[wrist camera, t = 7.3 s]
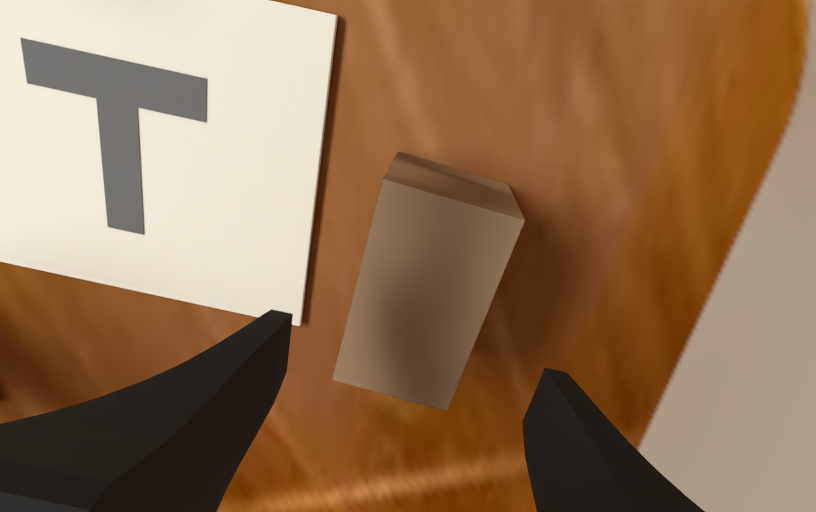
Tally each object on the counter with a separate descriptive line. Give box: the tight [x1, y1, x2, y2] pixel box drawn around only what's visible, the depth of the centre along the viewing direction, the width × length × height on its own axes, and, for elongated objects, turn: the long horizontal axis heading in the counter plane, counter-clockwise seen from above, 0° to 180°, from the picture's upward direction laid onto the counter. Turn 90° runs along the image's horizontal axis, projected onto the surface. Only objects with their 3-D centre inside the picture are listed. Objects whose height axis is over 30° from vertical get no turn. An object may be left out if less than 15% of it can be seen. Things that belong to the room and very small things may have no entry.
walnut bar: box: [332, 152, 525, 411], centre depth 17 cm, size 4×8×4 cm, turn 165°
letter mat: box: [0, 0, 338, 326], centre depth 18 cm, size 16×13×1 cm
